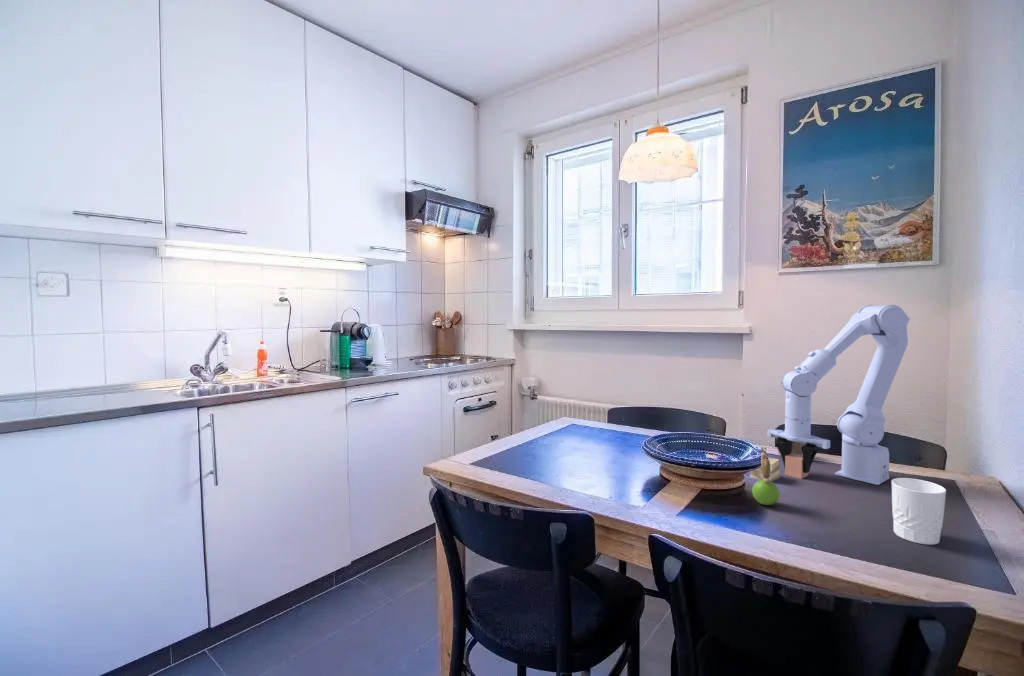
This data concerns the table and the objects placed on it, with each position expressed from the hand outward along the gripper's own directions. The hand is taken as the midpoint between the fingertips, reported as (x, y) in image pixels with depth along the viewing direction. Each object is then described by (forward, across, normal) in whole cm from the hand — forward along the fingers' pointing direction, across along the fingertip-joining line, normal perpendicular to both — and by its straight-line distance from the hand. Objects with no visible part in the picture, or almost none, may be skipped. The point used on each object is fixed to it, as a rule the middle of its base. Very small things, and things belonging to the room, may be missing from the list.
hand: (796, 469), depth 124 cm
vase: (+2, -8, +14) cm, 16 cm away
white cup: (+2, +29, -17) cm, 34 cm away
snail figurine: (+2, +4, -24) cm, 24 cm away
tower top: (-1, -4, -8) cm, 9 cm away
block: (+1, 0, 0) cm, 1 cm away
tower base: (+2, -4, -8) cm, 9 cm away
